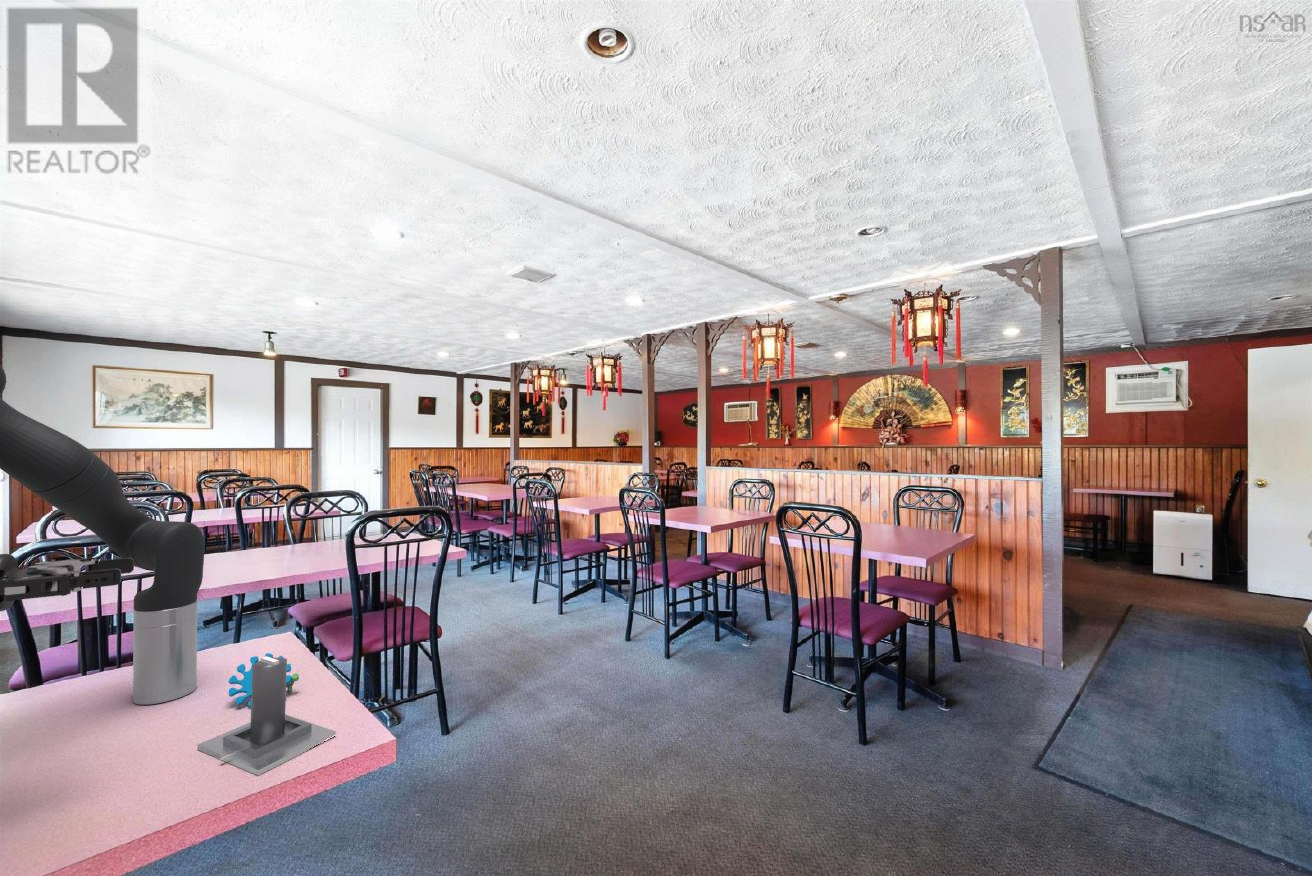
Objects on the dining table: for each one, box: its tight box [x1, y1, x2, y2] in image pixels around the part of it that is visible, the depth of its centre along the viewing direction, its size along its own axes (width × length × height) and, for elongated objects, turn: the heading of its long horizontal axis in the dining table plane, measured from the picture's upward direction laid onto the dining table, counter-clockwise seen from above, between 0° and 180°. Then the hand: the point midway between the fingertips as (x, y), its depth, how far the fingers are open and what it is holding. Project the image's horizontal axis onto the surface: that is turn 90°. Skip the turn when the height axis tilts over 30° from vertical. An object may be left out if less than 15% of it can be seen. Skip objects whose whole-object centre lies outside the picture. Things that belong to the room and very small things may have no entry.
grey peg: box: [250, 656, 288, 745], centre depth 90 cm, size 5×5×13 cm
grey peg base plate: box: [196, 713, 337, 776], centre depth 90 cm, size 16×13×2 cm
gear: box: [227, 653, 300, 708], centre depth 106 cm, size 11×6×10 cm
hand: (127, 570), depth 81 cm, fingers open, 8 cm apart
